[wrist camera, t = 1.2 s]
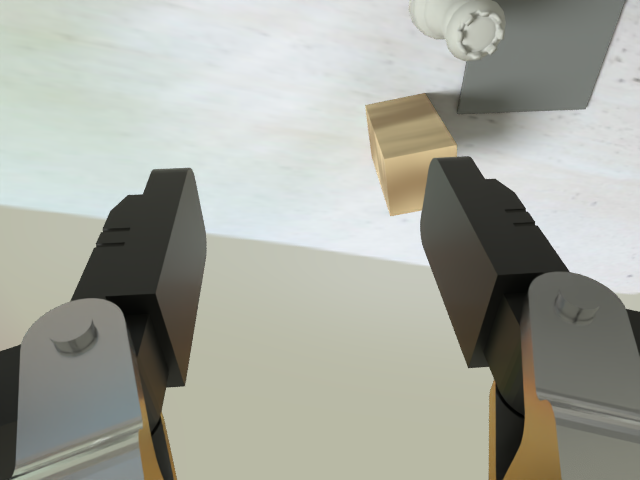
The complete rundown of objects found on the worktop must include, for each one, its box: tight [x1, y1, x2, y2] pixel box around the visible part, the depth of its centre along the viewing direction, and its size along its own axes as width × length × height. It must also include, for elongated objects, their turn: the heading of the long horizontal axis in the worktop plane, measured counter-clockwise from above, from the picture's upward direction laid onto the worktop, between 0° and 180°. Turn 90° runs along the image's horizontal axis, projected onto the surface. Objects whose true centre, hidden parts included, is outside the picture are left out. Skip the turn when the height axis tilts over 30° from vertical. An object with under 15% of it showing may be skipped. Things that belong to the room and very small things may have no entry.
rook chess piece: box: [409, 0, 506, 61], centre depth 29 cm, size 4×4×8 cm
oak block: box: [365, 93, 457, 216], centre depth 34 cm, size 4×4×8 cm
